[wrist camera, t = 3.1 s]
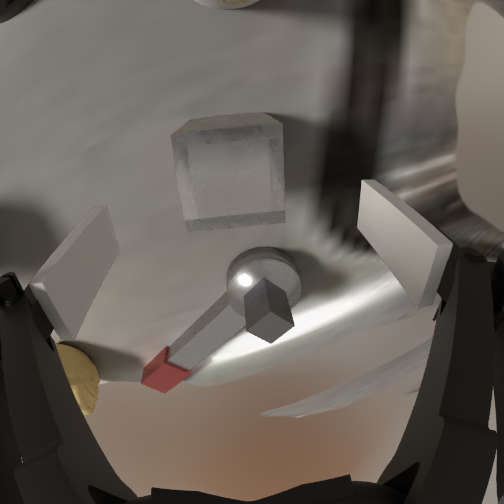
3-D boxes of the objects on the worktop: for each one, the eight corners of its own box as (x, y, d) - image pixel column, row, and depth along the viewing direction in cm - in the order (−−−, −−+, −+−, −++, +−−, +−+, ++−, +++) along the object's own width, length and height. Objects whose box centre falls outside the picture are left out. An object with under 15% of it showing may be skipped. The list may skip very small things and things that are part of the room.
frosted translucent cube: (190, 119, 23) (170, 135, 15) (264, 112, 23) (282, 123, 15) (198, 187, 26) (186, 232, 19) (268, 180, 27) (285, 222, 19)
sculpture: (110, 381, 44) (98, 431, 35) (55, 366, 41) (39, 412, 32) (99, 344, 38) (81, 402, 29) (38, 328, 36) (14, 378, 27)
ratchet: (259, 233, 30) (269, 281, 23) (310, 271, 33) (329, 320, 26) (133, 363, 40) (125, 405, 34) (175, 382, 44) (172, 422, 37)
